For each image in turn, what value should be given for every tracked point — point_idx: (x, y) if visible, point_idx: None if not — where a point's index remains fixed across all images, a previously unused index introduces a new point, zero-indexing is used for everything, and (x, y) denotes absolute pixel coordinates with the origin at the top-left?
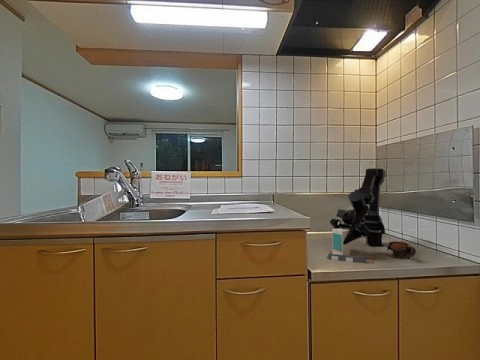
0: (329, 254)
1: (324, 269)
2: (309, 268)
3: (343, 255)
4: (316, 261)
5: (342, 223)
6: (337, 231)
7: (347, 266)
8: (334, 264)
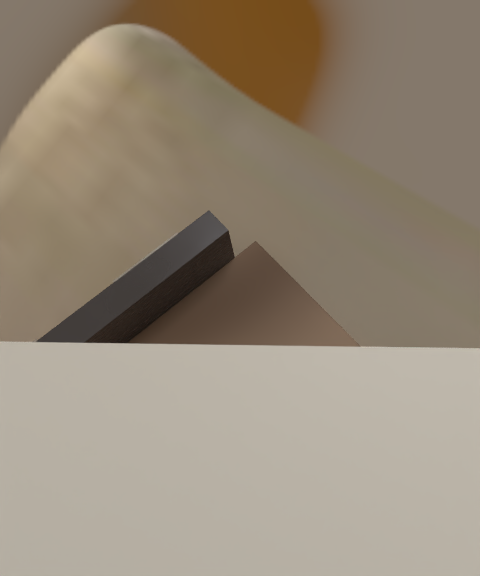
0: (200, 218)
1: (83, 102)
2: (162, 33)
3: (68, 336)
4: (286, 164)
5: None
6: (236, 361)
7: (13, 307)
8: (126, 245)
